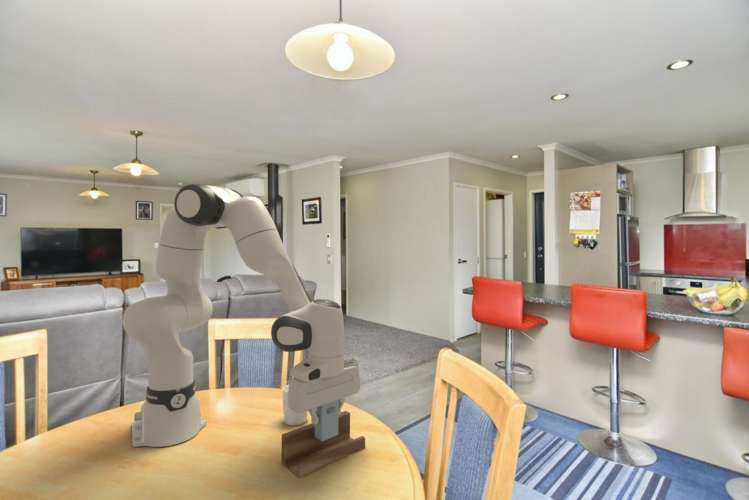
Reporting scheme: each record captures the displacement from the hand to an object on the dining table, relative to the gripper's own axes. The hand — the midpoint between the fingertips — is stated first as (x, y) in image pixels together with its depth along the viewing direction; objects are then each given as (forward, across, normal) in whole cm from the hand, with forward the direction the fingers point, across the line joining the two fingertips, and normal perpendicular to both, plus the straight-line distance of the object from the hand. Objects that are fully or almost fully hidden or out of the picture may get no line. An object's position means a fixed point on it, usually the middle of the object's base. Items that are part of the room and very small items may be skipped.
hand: (326, 419), depth 98 cm
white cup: (+9, -5, -22) cm, 24 cm away
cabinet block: (+4, 0, 0) cm, 4 cm away
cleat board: (+9, 0, 0) cm, 9 cm away
